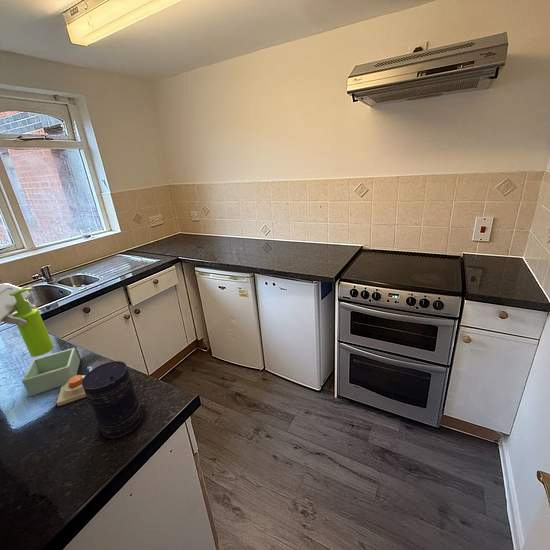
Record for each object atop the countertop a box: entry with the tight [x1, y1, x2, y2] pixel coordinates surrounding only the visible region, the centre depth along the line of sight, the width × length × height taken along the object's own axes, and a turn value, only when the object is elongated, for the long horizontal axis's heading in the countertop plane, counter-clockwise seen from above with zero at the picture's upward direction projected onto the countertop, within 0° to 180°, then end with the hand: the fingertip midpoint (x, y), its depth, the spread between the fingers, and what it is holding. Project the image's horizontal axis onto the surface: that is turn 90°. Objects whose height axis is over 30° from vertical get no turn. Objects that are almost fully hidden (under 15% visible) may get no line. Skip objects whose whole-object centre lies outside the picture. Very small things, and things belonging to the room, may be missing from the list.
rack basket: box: [21, 347, 81, 397], centre depth 95 cm, size 12×12×6 cm
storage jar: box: [82, 360, 144, 439], centre depth 73 cm, size 10×10×15 cm
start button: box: [68, 374, 83, 388], centre depth 87 cm, size 4×4×2 cm
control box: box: [55, 374, 87, 407], centre depth 88 cm, size 10×8×3 cm
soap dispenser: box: [10, 287, 55, 358], centre depth 89 cm, size 6×7×20 cm
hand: (31, 317), depth 88 cm, fingers closed on soap dispenser, 6 cm apart
